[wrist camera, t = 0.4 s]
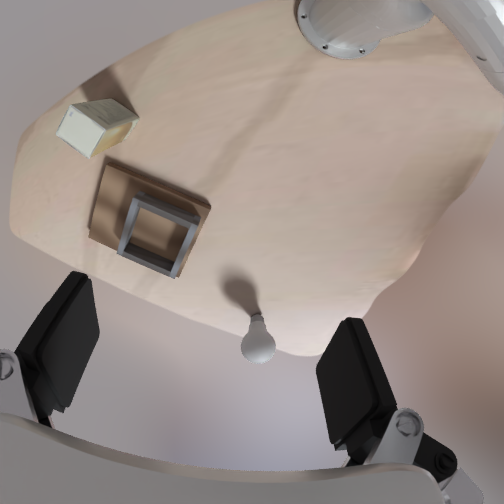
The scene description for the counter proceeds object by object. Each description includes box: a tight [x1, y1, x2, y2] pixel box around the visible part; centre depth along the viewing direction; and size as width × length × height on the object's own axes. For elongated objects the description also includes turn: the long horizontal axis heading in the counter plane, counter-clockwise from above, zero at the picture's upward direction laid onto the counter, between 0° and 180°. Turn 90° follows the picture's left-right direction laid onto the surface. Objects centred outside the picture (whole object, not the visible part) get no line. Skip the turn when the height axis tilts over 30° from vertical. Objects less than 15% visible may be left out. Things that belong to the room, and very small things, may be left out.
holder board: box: [89, 162, 211, 279], centre depth 43 cm, size 14×18×4 cm
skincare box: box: [56, 98, 139, 159], centre depth 31 cm, size 6×4×12 cm
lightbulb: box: [241, 315, 276, 364], centre depth 52 cm, size 6×6×11 cm
